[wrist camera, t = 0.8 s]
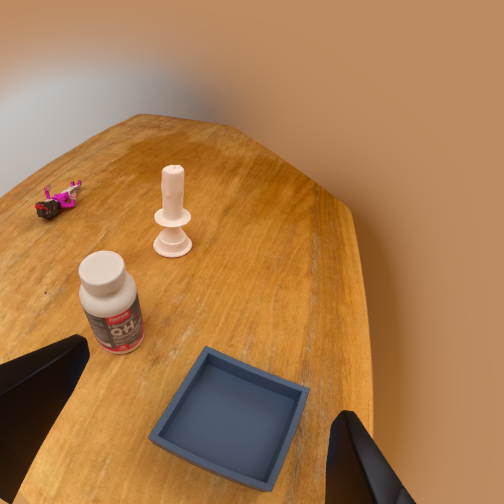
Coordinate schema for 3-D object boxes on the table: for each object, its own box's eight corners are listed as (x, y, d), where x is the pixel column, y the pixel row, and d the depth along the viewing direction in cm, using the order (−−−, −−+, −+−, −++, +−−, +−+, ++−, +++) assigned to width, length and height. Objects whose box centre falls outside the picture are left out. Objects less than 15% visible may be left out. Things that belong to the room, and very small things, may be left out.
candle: (199, 244, 40) (206, 164, 32) (173, 264, 36) (174, 178, 28) (171, 228, 41) (173, 152, 33) (145, 246, 37) (141, 164, 30)
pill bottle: (128, 365, 24) (104, 302, 18) (87, 340, 25) (57, 274, 19) (154, 326, 28) (145, 257, 22) (115, 306, 29) (98, 237, 23)
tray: (264, 492, 17) (271, 491, 15) (152, 443, 19) (147, 437, 17) (300, 398, 25) (310, 388, 23) (204, 358, 27) (205, 345, 25)
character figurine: (66, 192, 46) (32, 222, 36) (65, 168, 43) (27, 193, 33) (90, 195, 46) (57, 226, 36) (89, 170, 44) (53, 196, 34)
